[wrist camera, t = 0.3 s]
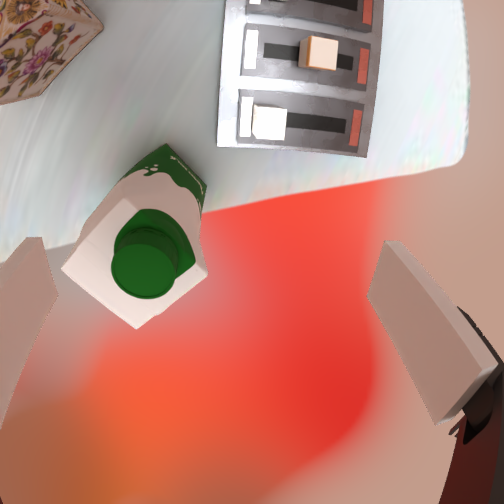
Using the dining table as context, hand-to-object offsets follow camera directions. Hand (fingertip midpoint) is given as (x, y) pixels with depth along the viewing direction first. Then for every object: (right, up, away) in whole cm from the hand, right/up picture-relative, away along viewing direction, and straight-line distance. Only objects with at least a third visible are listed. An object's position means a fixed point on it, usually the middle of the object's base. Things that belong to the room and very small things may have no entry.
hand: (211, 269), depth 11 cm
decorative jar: (-22, +26, +12) cm, 36 cm away
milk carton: (-9, +8, +24) cm, 27 cm away
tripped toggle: (+7, +20, +15) cm, 25 cm away
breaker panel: (+7, +22, +18) cm, 29 cm away
